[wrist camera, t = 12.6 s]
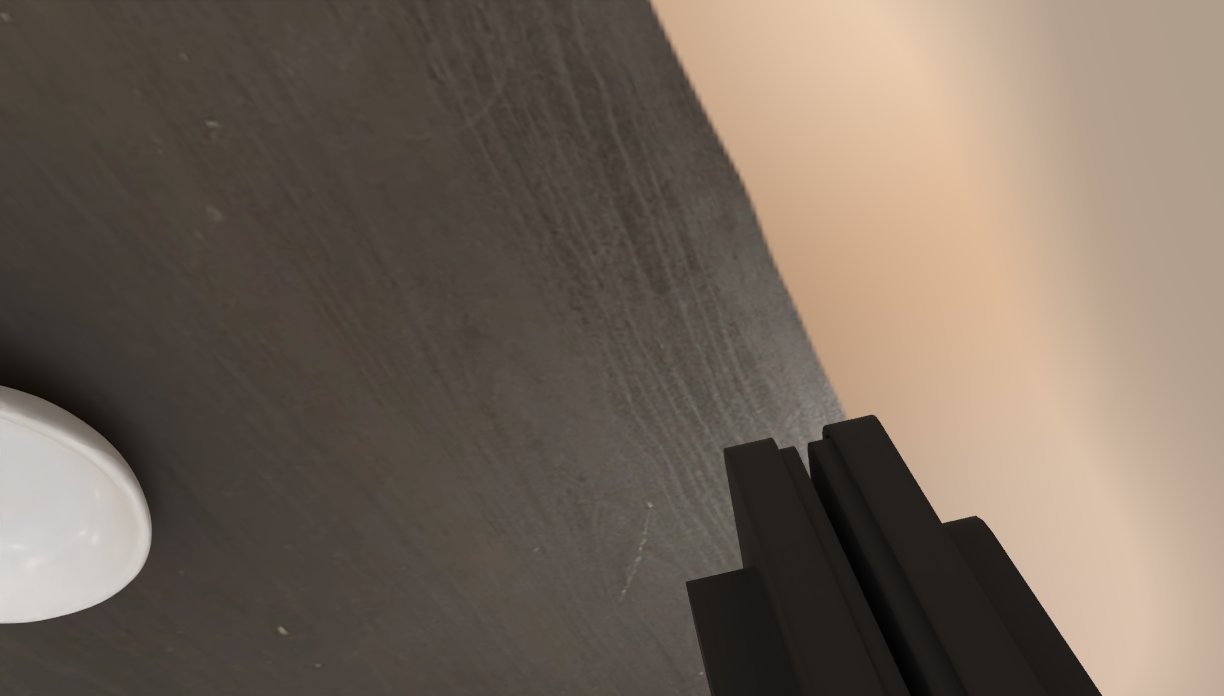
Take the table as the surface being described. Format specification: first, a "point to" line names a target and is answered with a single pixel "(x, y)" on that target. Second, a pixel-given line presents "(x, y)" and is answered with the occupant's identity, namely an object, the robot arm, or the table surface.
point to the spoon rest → (63, 513)
